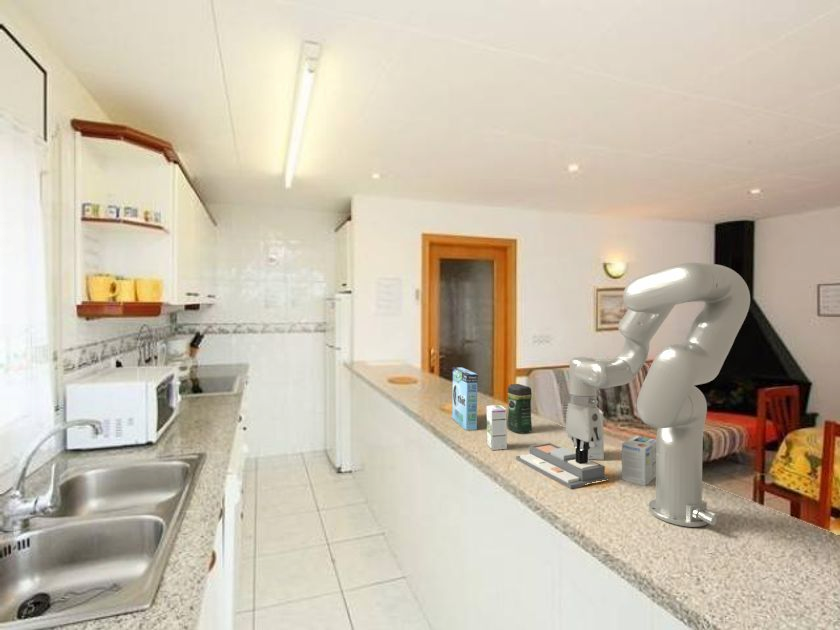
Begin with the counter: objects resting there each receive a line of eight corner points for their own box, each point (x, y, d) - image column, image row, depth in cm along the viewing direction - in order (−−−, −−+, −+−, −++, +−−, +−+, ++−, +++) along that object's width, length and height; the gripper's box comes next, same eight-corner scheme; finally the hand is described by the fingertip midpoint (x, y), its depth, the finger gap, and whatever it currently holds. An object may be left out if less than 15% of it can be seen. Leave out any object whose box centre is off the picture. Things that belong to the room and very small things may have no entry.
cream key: (598, 473, 127) (598, 464, 127) (582, 476, 124) (582, 467, 124) (583, 466, 132) (583, 458, 132) (567, 469, 130) (567, 460, 130)
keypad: (609, 480, 126) (609, 466, 126) (570, 488, 120) (570, 474, 120) (550, 453, 149) (550, 441, 149) (516, 459, 143) (515, 447, 143)
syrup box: (507, 449, 153) (507, 408, 153) (491, 450, 152) (491, 409, 152) (501, 444, 159) (501, 404, 159) (486, 445, 158) (486, 405, 158)
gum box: (452, 419, 195) (451, 367, 195) (463, 418, 196) (462, 367, 196) (466, 431, 176) (466, 374, 176) (478, 430, 177) (478, 373, 177)
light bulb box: (634, 469, 134) (634, 434, 134) (658, 475, 129) (658, 439, 129) (620, 479, 127) (621, 442, 126) (645, 486, 122) (646, 447, 122)
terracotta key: (562, 458, 141) (562, 450, 141) (546, 460, 138) (546, 453, 138) (549, 452, 146) (549, 445, 146) (534, 454, 144) (534, 447, 144)
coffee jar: (535, 432, 173) (535, 385, 173) (518, 435, 170) (518, 387, 170) (521, 426, 182) (521, 382, 182) (504, 428, 179) (504, 383, 179)
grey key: (579, 461, 134) (579, 453, 134) (563, 464, 131) (563, 455, 131) (565, 455, 139) (565, 447, 139) (550, 457, 137) (550, 449, 137)
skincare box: (604, 460, 142) (604, 412, 142) (582, 459, 143) (582, 411, 143) (598, 452, 150) (599, 406, 150) (578, 451, 151) (578, 406, 151)
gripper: (612, 404, 123) (611, 469, 123) (574, 394, 136) (573, 452, 137) (592, 407, 120) (591, 473, 120) (555, 396, 133) (554, 455, 134)
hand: (581, 462), depth 129 cm, fingers closed
